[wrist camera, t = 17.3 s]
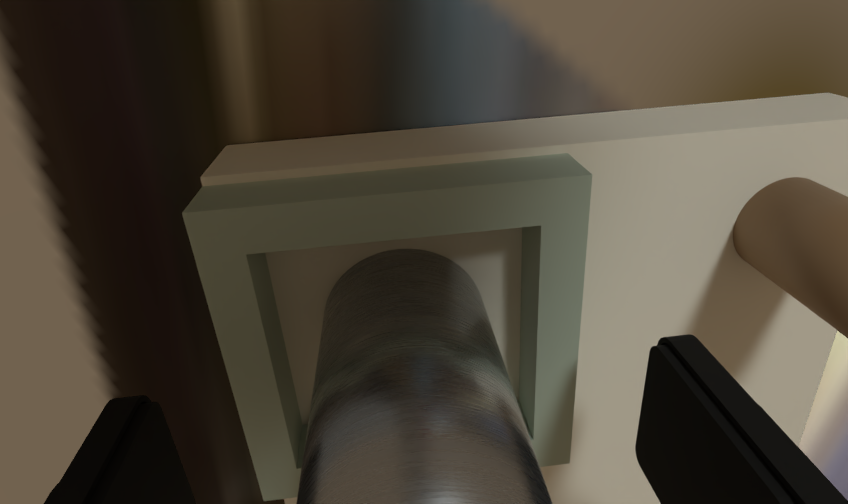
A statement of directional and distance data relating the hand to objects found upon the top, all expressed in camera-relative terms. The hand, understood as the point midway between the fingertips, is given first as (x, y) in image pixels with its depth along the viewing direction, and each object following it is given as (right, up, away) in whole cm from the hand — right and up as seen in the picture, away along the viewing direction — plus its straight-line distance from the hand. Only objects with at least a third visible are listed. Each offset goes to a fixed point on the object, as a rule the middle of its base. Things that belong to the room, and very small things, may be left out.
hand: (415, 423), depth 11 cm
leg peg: (0, +2, +3) cm, 4 cm away
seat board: (+3, -6, +10) cm, 12 cm away
